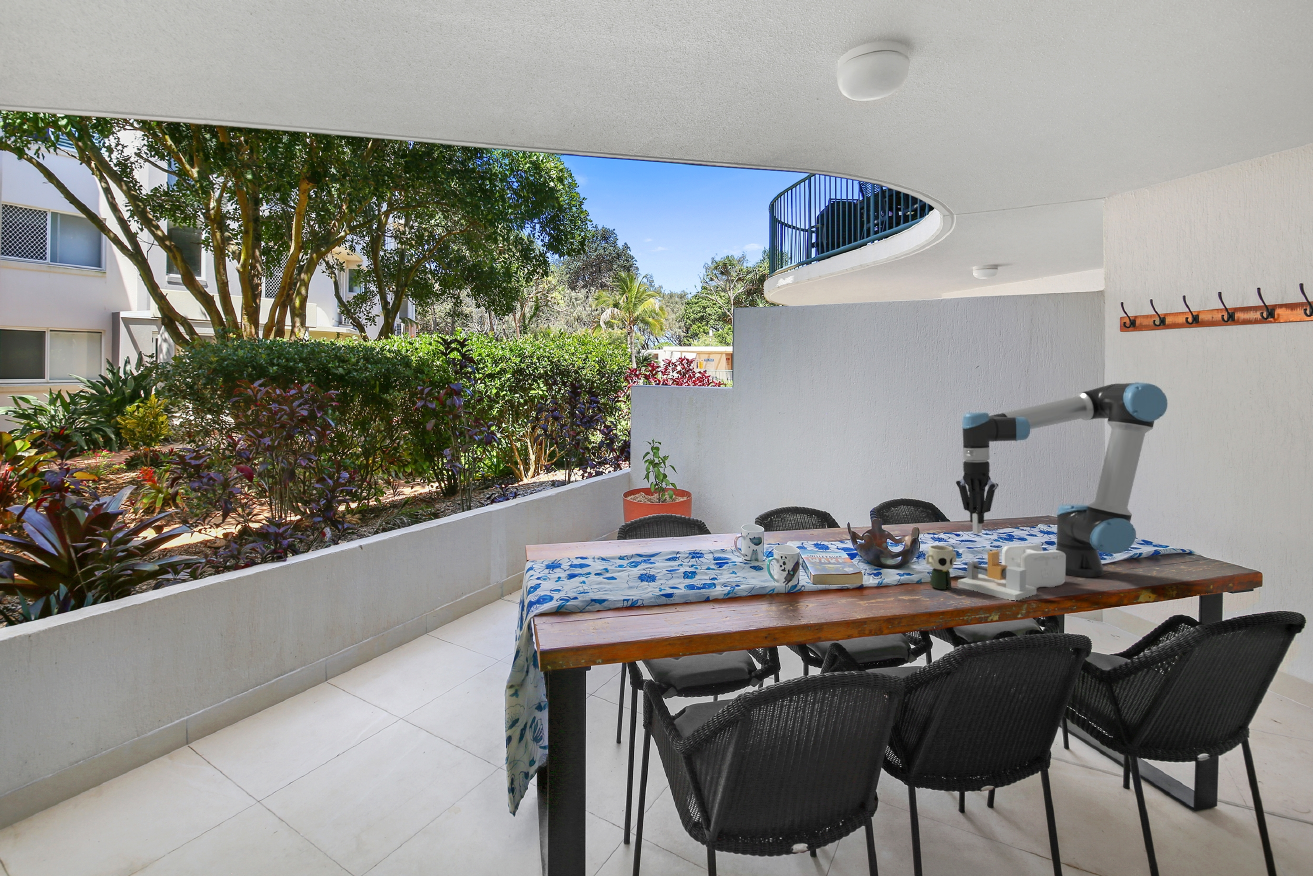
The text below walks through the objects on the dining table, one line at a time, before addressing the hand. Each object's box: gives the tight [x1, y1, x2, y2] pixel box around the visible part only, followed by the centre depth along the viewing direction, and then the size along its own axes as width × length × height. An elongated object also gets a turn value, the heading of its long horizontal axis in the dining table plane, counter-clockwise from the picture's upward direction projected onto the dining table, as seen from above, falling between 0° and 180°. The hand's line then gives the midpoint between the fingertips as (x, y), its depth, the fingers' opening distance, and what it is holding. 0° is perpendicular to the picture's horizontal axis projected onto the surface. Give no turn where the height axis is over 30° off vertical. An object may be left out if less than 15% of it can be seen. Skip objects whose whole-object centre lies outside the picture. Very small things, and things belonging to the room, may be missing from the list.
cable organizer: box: [1001, 543, 1066, 589], centre depth 200 cm, size 15×11×12 cm
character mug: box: [925, 544, 957, 590], centre depth 197 cm, size 11×7×13 cm, turn 103°
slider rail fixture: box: [957, 560, 1037, 602], centre depth 194 cm, size 12×18×8 cm, turn 32°
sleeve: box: [986, 550, 1007, 580], centre depth 194 cm, size 4×4×8 cm
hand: (977, 533), depth 201 cm, fingers closed
